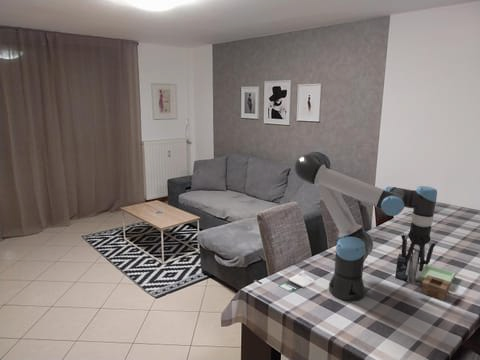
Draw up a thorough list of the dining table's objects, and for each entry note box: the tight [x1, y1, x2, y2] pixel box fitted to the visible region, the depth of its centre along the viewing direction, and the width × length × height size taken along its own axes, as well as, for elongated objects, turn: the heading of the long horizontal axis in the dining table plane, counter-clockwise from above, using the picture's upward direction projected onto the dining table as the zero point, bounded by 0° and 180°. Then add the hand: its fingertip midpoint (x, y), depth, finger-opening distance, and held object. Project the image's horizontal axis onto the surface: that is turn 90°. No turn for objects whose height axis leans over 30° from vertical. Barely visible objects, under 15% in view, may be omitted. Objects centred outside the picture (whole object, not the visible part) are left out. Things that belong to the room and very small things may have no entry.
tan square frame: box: [420, 275, 451, 301], centre depth 152 cm, size 9×9×5 cm
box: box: [394, 253, 411, 281], centre depth 164 cm, size 8×6×11 cm
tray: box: [416, 264, 456, 288], centre depth 164 cm, size 16×14×2 cm
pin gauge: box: [406, 247, 420, 285], centre depth 147 cm, size 3×3×15 cm
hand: (412, 275), depth 148 cm, fingers closed on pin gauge, 3 cm apart
